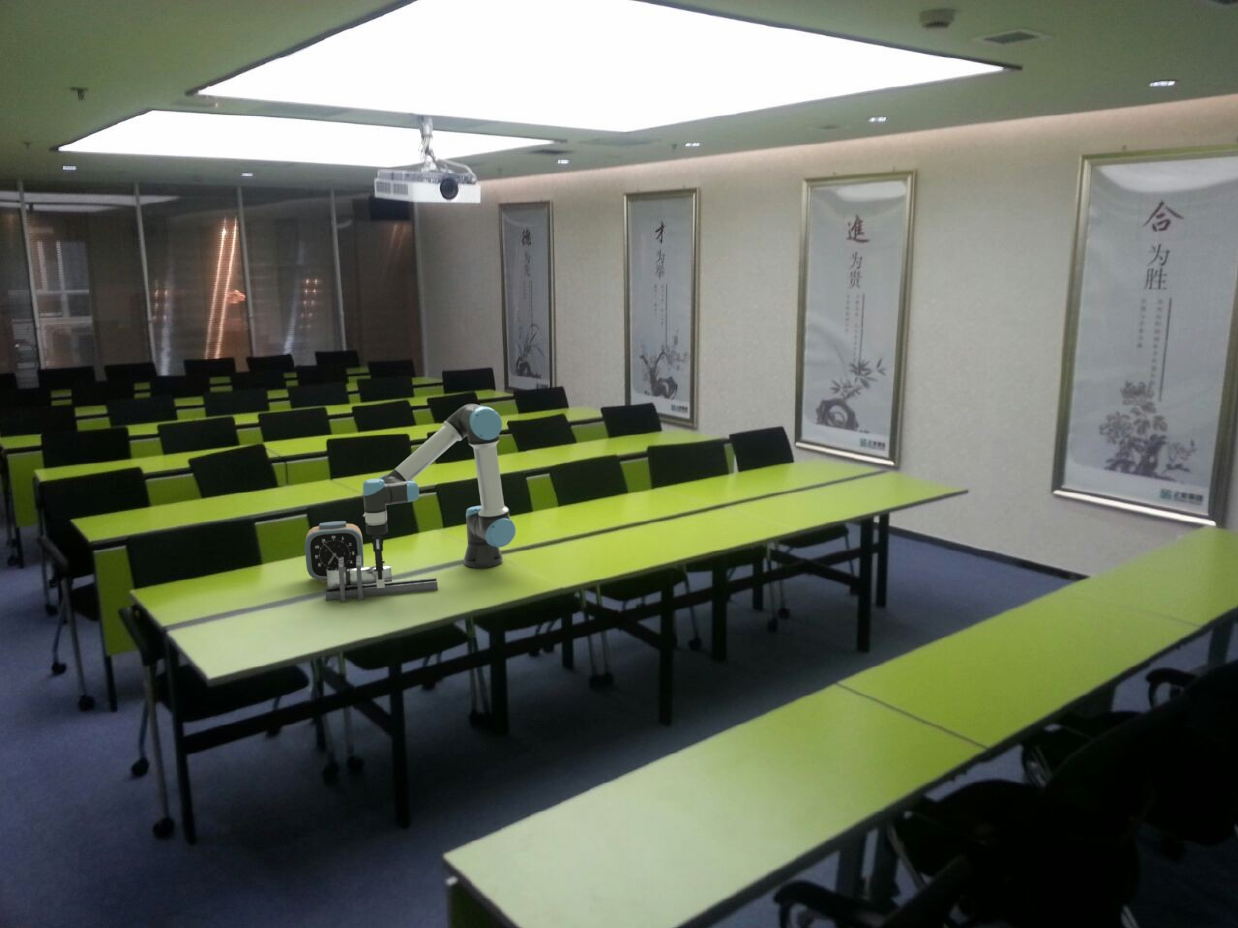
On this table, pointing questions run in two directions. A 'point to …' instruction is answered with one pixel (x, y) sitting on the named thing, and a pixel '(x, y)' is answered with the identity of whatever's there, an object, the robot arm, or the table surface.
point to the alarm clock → (332, 548)
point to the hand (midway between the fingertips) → (380, 584)
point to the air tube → (351, 576)
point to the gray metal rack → (375, 586)
